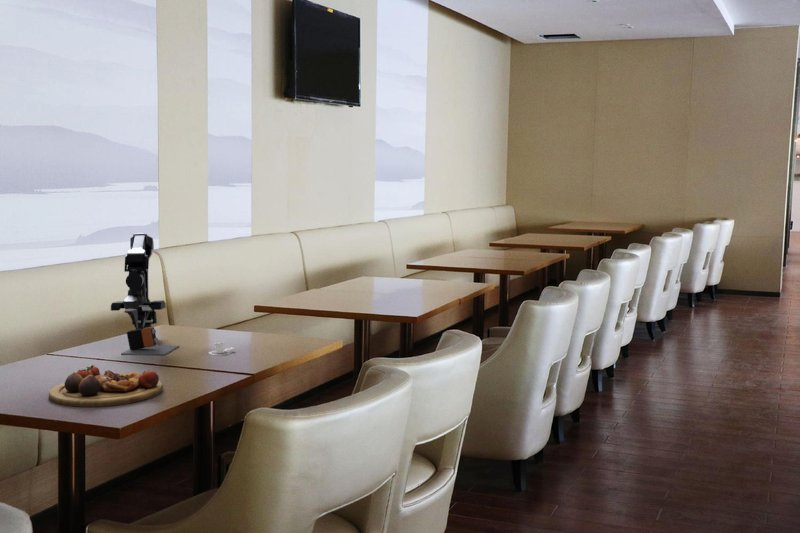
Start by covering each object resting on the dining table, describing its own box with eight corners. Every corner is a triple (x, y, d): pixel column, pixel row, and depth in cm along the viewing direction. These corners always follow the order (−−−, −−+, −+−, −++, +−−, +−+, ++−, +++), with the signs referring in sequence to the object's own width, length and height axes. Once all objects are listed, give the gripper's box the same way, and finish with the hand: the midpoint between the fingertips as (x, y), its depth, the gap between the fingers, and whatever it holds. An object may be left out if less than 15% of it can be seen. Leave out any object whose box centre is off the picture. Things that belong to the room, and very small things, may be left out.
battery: (129, 350, 326) (155, 346, 325) (126, 332, 325) (152, 327, 324) (134, 347, 330) (160, 343, 329) (130, 329, 330) (156, 325, 329)
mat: (137, 346, 336) (137, 344, 336) (179, 346, 335) (179, 345, 335) (121, 354, 320) (121, 353, 320) (164, 355, 319) (164, 354, 319)
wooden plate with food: (182, 385, 276) (182, 359, 275) (124, 412, 245) (123, 382, 244) (92, 379, 284) (91, 353, 283) (25, 404, 254) (23, 375, 253)
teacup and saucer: (235, 352, 328) (235, 341, 327) (229, 356, 320) (229, 345, 319) (212, 351, 329) (212, 340, 328) (205, 356, 321) (205, 344, 320)
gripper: (103, 289, 318) (105, 332, 319) (154, 288, 317) (156, 332, 318) (115, 286, 329) (117, 328, 330) (165, 285, 328) (167, 327, 329)
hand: (139, 329), depth 327 cm, fingers closed
